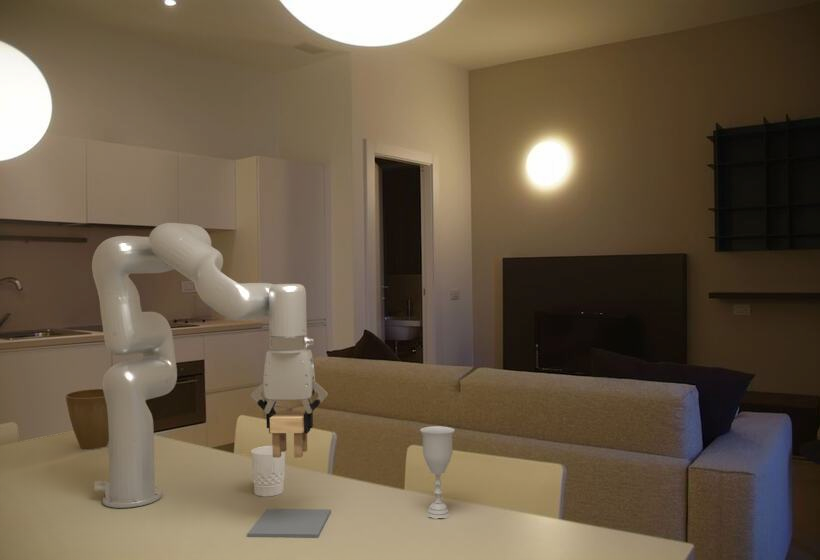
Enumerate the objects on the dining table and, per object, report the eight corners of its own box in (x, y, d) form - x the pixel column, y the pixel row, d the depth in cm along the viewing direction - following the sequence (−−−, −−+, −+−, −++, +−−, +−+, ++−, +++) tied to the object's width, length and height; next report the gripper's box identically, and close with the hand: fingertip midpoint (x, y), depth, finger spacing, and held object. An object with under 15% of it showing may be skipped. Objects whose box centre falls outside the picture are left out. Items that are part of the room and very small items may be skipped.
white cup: (278, 498, 159) (277, 454, 159) (246, 496, 161) (245, 453, 161) (291, 487, 167) (290, 446, 167) (260, 486, 169) (259, 444, 168)
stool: (278, 449, 146) (277, 411, 146) (309, 449, 146) (308, 411, 146) (270, 457, 140) (269, 418, 140) (302, 458, 140) (301, 418, 139)
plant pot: (55, 451, 203) (54, 397, 203) (87, 439, 218) (86, 388, 217) (102, 453, 200) (101, 398, 200) (131, 440, 215) (130, 388, 215)
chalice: (459, 511, 149) (458, 427, 149) (450, 522, 143) (449, 434, 143) (426, 508, 152) (425, 425, 151) (416, 518, 145) (415, 432, 145)
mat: (247, 536, 137) (247, 533, 137) (266, 511, 151) (266, 508, 151) (318, 537, 136) (318, 534, 136) (331, 512, 150) (331, 509, 150)
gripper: (333, 342, 146) (335, 427, 146) (251, 342, 147) (253, 427, 147) (327, 346, 138) (328, 436, 139) (240, 346, 140) (242, 436, 140)
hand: (289, 431), depth 143 cm, fingers closed on stool, 6 cm apart
